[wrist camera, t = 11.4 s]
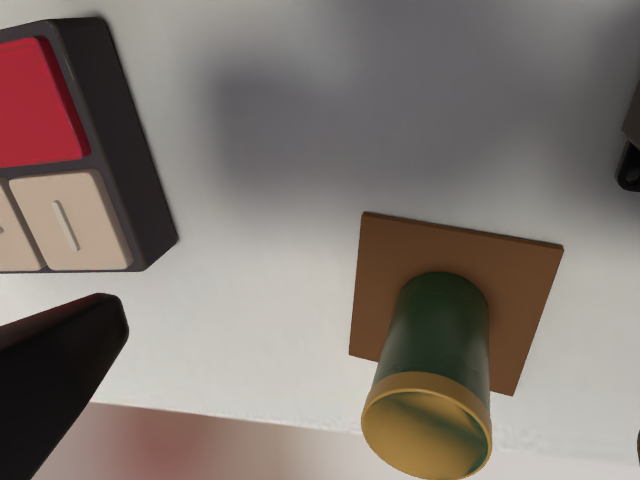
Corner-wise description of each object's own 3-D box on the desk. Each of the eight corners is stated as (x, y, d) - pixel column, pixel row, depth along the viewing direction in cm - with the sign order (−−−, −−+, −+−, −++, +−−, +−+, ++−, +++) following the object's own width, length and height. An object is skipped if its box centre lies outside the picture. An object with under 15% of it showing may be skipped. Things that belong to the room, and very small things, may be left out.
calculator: (138, 281, 21) (-86, 282, 25) (186, 239, 24) (-17, 247, 29) (35, 17, 16) (-217, 77, 21) (113, 14, 20) (-115, 65, 24)
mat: (563, 245, 18) (564, 250, 17) (512, 390, 22) (512, 396, 21) (363, 211, 20) (361, 215, 19) (350, 350, 24) (348, 355, 23)
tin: (499, 281, 19) (506, 411, 13) (478, 355, 21) (476, 496, 15) (401, 262, 20) (366, 374, 14) (390, 334, 22) (355, 459, 16)
